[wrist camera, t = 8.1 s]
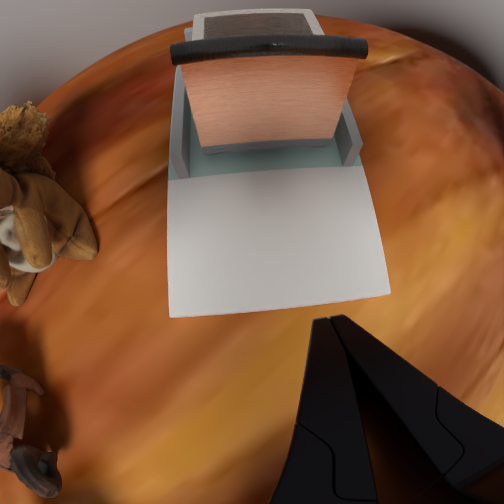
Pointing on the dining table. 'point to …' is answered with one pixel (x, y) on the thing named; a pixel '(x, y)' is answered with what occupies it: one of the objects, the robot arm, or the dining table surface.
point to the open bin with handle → (265, 79)
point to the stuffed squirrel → (34, 206)
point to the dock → (268, 223)
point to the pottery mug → (12, 426)
